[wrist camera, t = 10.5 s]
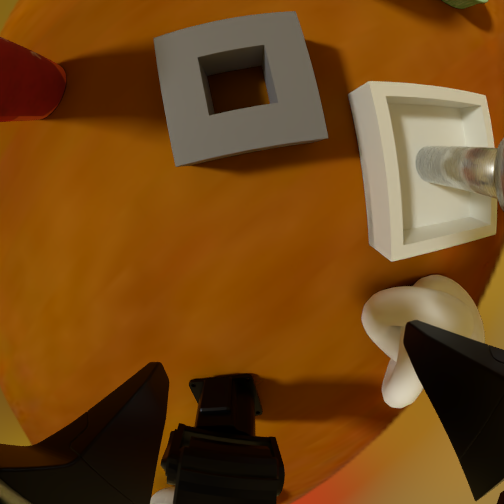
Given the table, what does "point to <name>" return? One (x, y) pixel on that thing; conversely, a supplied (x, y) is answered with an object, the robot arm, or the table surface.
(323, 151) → the table surface
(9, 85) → the paper cup
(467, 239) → the tray
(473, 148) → the pin
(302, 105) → the block
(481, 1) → the ramekin
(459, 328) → the white knot sculpture
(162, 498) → the serving bowl
